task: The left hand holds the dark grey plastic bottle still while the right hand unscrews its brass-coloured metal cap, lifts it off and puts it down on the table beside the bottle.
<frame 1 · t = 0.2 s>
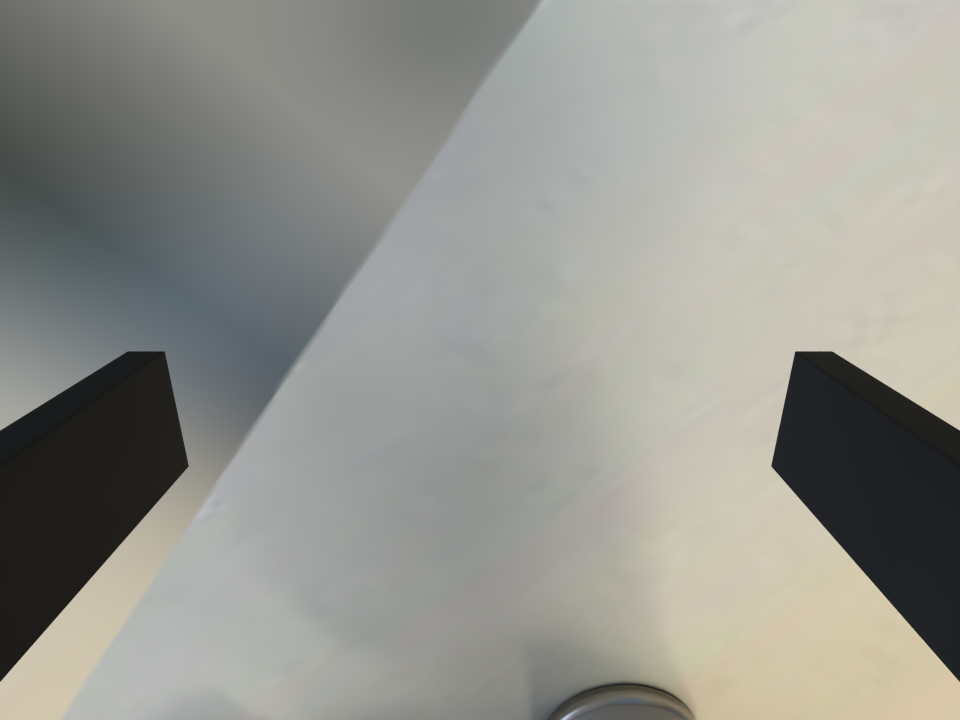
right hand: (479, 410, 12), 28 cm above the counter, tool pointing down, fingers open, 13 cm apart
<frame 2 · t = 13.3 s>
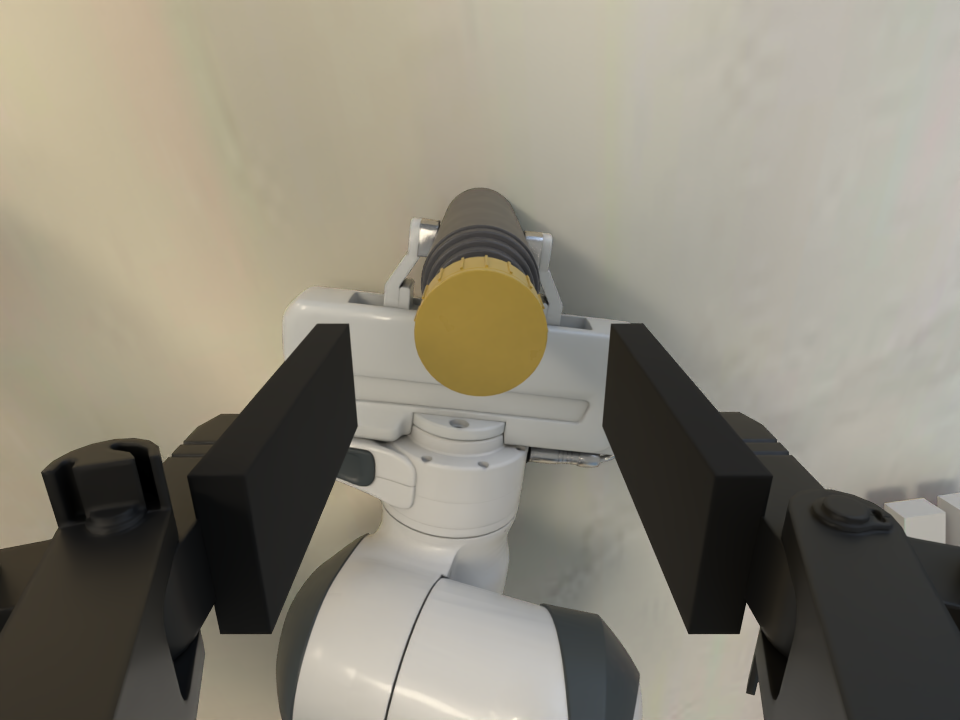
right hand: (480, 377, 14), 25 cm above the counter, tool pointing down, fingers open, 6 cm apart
cap: (480, 332, 17), point 22 cm above the counter, screwed on, not yet turned
bottle: (480, 225, 37), on the counter, touching left hand
toy: (884, 622, 49), on the counter
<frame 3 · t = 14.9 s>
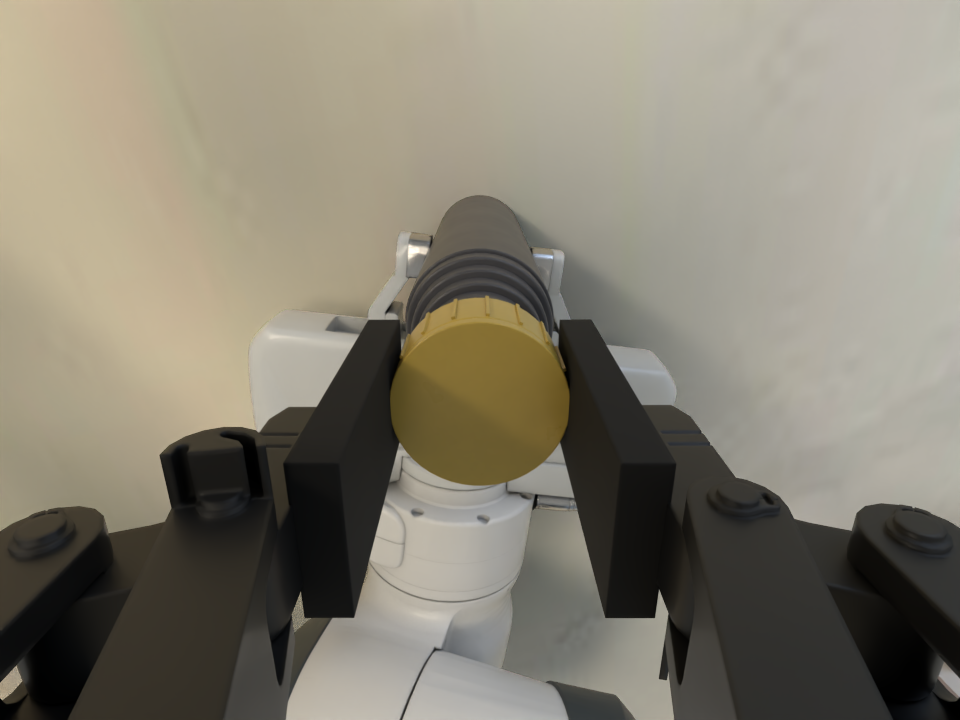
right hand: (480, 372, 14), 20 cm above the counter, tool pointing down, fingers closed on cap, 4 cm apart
cap: (479, 402, 13), point 22 cm above the counter, screwed on, not yet turned, touching right hand
bottle: (479, 237, 33), on the counter, touching left hand
toy: (924, 671, 45), on the counter
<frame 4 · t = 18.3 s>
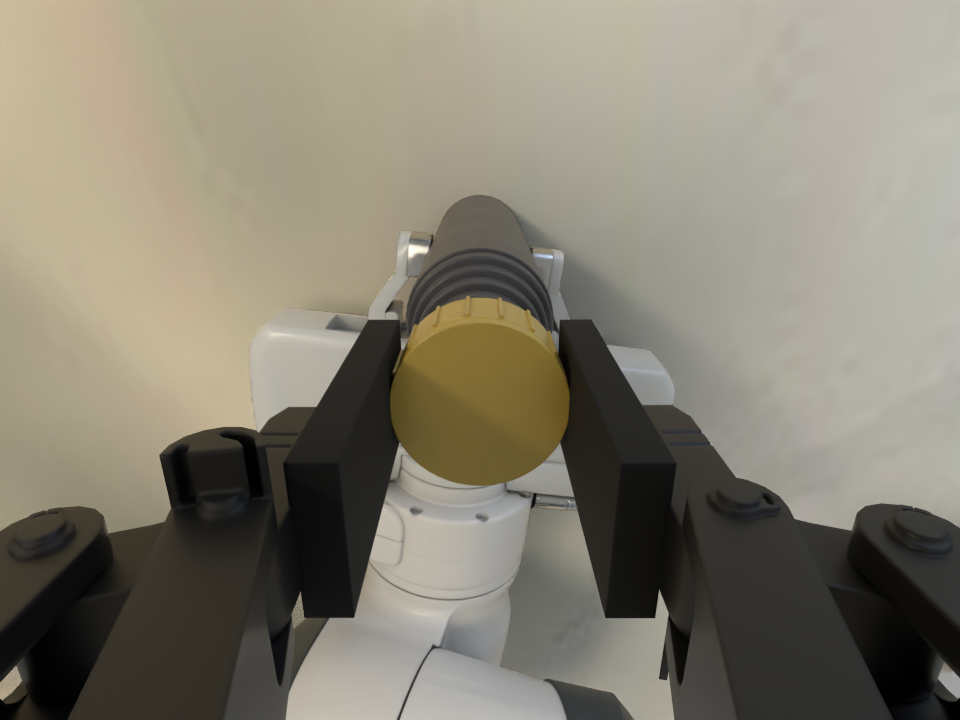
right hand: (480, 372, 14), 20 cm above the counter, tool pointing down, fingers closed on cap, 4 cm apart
cap: (479, 402, 13), point 22 cm above the counter, turned 119° so far, risen 0.1 cm, still on its thread, touching right hand
bottle: (479, 237, 33), on the counter, touching left hand
toy: (919, 671, 45), on the counter
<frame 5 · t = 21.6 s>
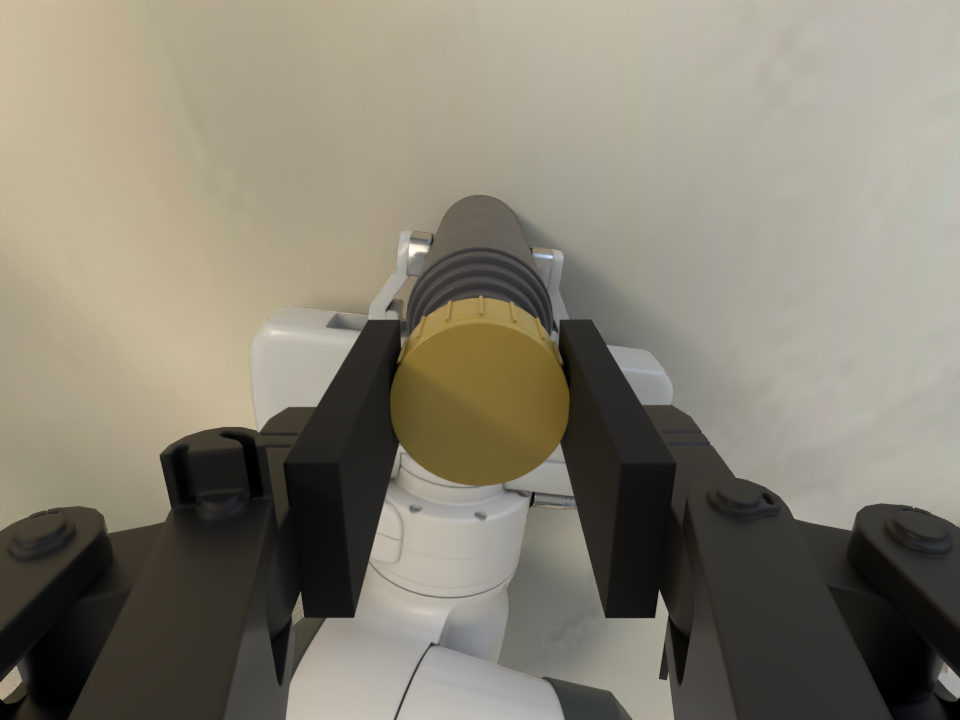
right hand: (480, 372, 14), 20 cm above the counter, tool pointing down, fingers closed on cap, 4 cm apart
cap: (479, 403, 13), point 22 cm above the counter, turned 238° so far, risen 0.3 cm, still on its thread, touching right hand
bottle: (479, 237, 33), on the counter, touching left hand
toy: (915, 672, 45), on the counter
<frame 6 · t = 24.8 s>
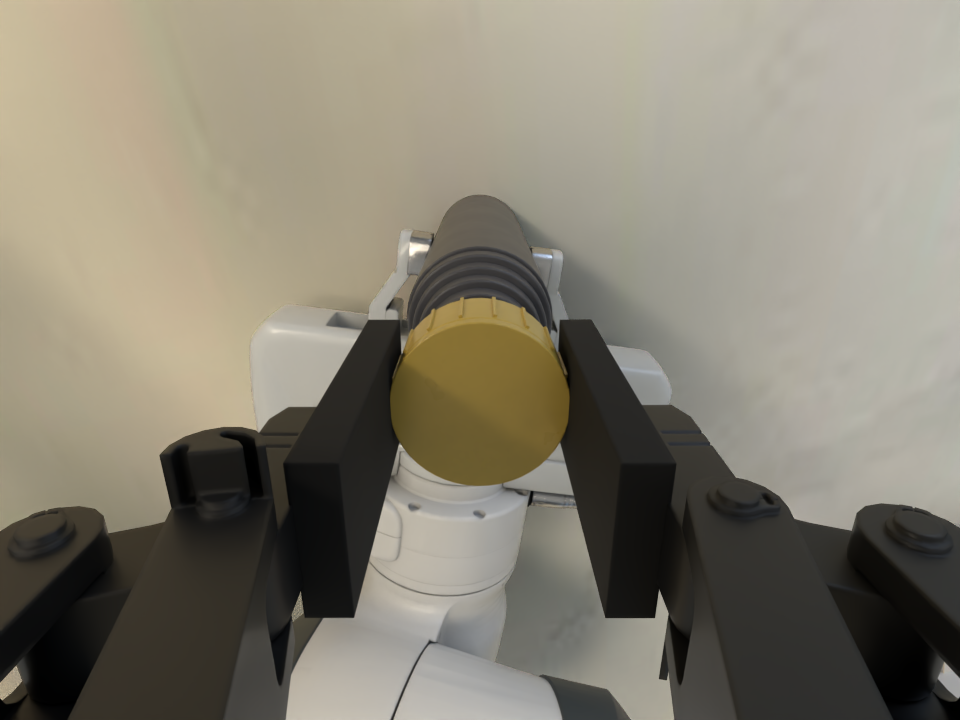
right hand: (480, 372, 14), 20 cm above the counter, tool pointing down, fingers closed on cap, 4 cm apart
cap: (479, 403, 13), point 22 cm above the counter, turned 357° so far, risen 0.4 cm, still on its thread, touching right hand
bottle: (479, 236, 33), on the counter, touching left hand
toy: (911, 672, 45), on the counter
when the right hand's fingers open (2 cm above the counter, at t = 33.0 s): cap drops 2 cm, point 2 cm above the counter.
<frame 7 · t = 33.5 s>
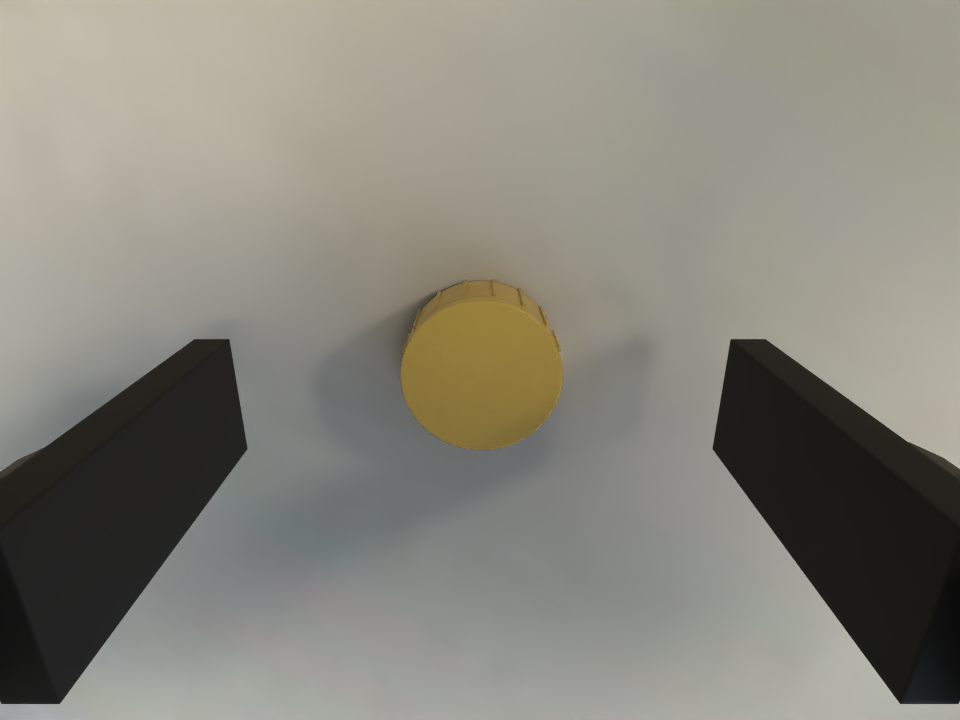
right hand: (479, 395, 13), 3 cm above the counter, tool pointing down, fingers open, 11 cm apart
cap: (481, 374, 14), point 2 cm above the counter, off its thread
when the left hand's fingers open (7 cm above the counter, at t = 34.3 s): bottle stays where it is, on the counter.
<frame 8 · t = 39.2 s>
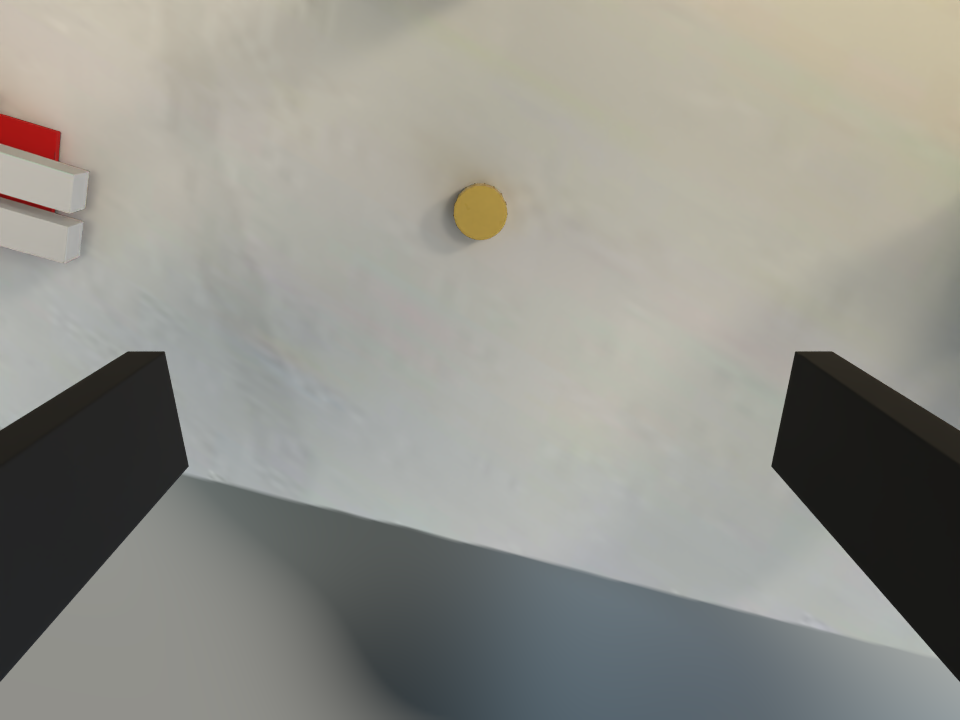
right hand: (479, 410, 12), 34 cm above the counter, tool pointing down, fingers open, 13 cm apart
cap: (480, 212, 43), point 2 cm above the counter, off its thread
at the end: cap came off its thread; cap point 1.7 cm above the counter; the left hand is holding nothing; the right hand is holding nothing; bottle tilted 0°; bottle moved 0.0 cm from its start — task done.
